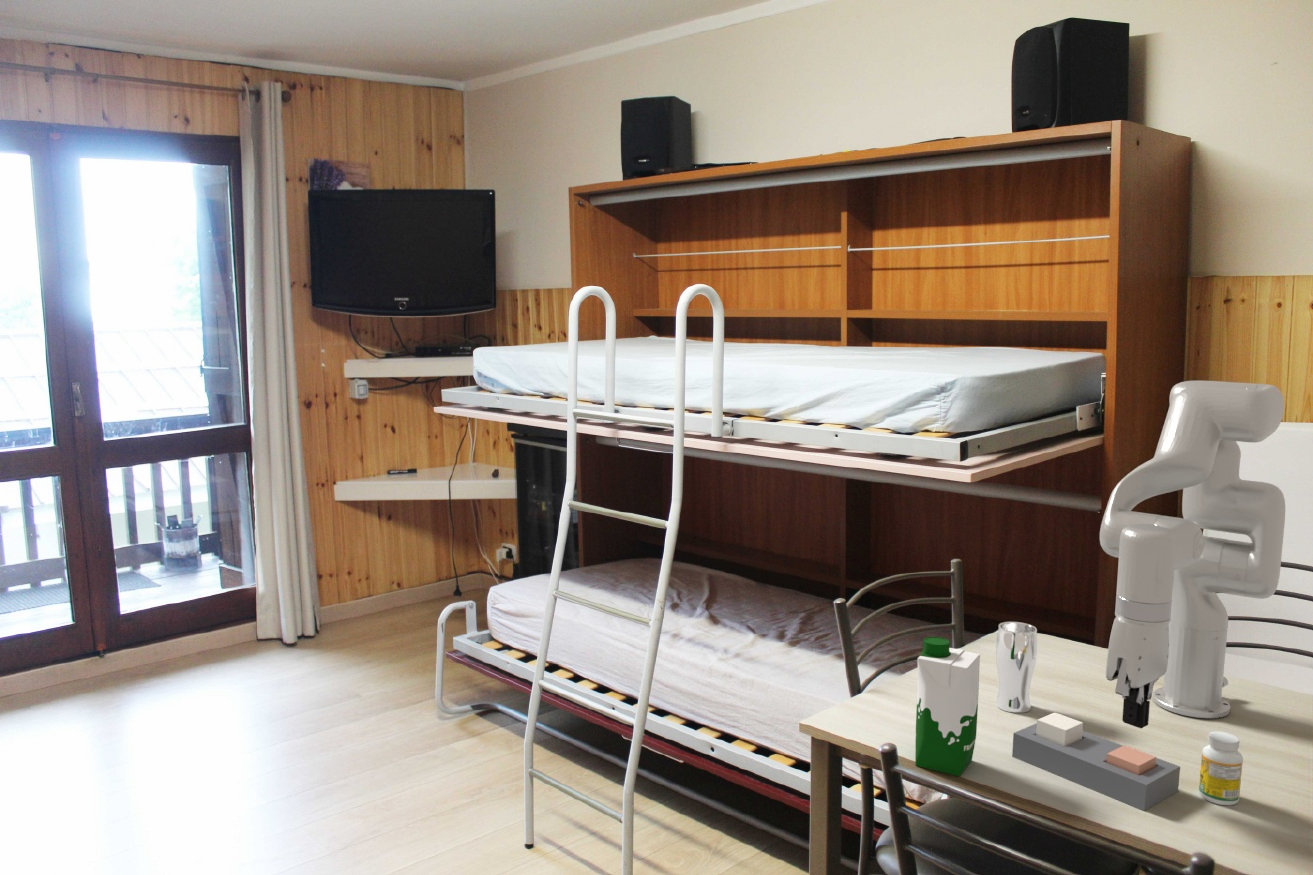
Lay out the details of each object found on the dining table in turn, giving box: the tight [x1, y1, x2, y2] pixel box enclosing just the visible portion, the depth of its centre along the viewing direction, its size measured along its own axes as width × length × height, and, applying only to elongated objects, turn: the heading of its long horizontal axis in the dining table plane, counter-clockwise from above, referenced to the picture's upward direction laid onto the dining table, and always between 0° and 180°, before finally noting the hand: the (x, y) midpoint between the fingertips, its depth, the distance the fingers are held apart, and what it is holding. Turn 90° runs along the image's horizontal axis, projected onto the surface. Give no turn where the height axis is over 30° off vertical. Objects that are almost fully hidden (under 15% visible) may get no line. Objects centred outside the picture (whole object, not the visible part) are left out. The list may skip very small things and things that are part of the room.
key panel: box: [1011, 722, 1181, 812], centre depth 161 cm, size 10×22×4 cm, turn 37°
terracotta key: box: [1106, 744, 1157, 776], centre depth 156 cm, size 5×5×4 cm
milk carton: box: [914, 636, 981, 778], centre depth 163 cm, size 9×9×20 cm
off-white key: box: [1036, 712, 1084, 747], centre depth 166 cm, size 5×5×4 cm
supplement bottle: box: [1198, 730, 1244, 806], centre depth 154 cm, size 5×5×10 cm
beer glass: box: [995, 621, 1038, 714], centre depth 187 cm, size 7×7×15 cm
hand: (1135, 723), depth 156 cm, fingers closed
